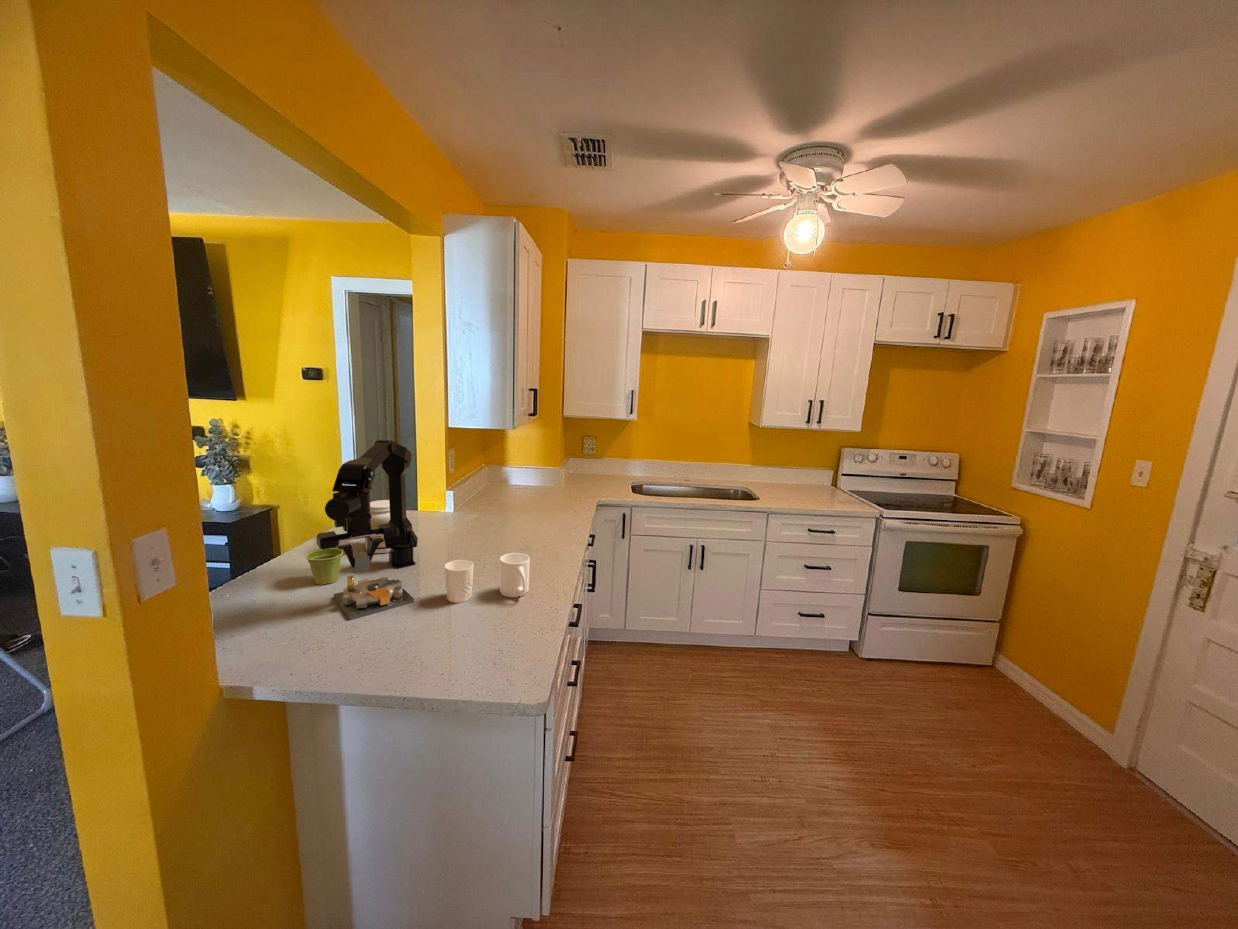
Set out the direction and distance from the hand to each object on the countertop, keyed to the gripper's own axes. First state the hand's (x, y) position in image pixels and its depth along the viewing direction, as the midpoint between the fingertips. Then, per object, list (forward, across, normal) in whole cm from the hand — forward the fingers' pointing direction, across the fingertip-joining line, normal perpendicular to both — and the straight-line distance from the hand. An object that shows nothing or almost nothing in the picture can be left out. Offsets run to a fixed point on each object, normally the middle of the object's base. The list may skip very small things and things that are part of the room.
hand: (360, 565), depth 124 cm
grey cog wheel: (+10, -3, 0) cm, 10 cm away
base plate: (+11, -3, 0) cm, 12 cm away
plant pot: (+11, +5, -21) cm, 24 cm away
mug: (+11, -37, +20) cm, 43 cm away
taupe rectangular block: (+1, 0, 0) cm, 1 cm away
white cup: (+11, -22, +12) cm, 28 cm away
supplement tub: (+11, -17, -40) cm, 45 cm away
